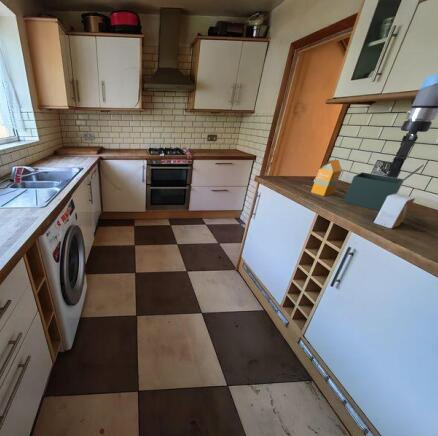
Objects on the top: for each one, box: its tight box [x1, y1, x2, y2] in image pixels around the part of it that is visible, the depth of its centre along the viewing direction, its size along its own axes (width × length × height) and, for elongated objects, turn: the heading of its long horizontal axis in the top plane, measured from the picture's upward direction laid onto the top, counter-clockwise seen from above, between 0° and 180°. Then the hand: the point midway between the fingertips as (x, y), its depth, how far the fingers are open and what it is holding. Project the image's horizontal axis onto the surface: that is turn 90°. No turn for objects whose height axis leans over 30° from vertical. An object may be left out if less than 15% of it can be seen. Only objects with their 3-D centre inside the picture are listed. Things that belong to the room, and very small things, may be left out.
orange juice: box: [310, 159, 343, 197], centre depth 134 cm, size 8×9×20 cm
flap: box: [400, 164, 424, 183], centre depth 108 cm, size 8×16×1 cm
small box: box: [373, 193, 416, 229], centre depth 98 cm, size 8×6×13 cm
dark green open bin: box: [342, 171, 404, 212], centre depth 121 cm, size 17×16×14 cm
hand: (391, 174), depth 98 cm, fingers open, 13 cm apart
